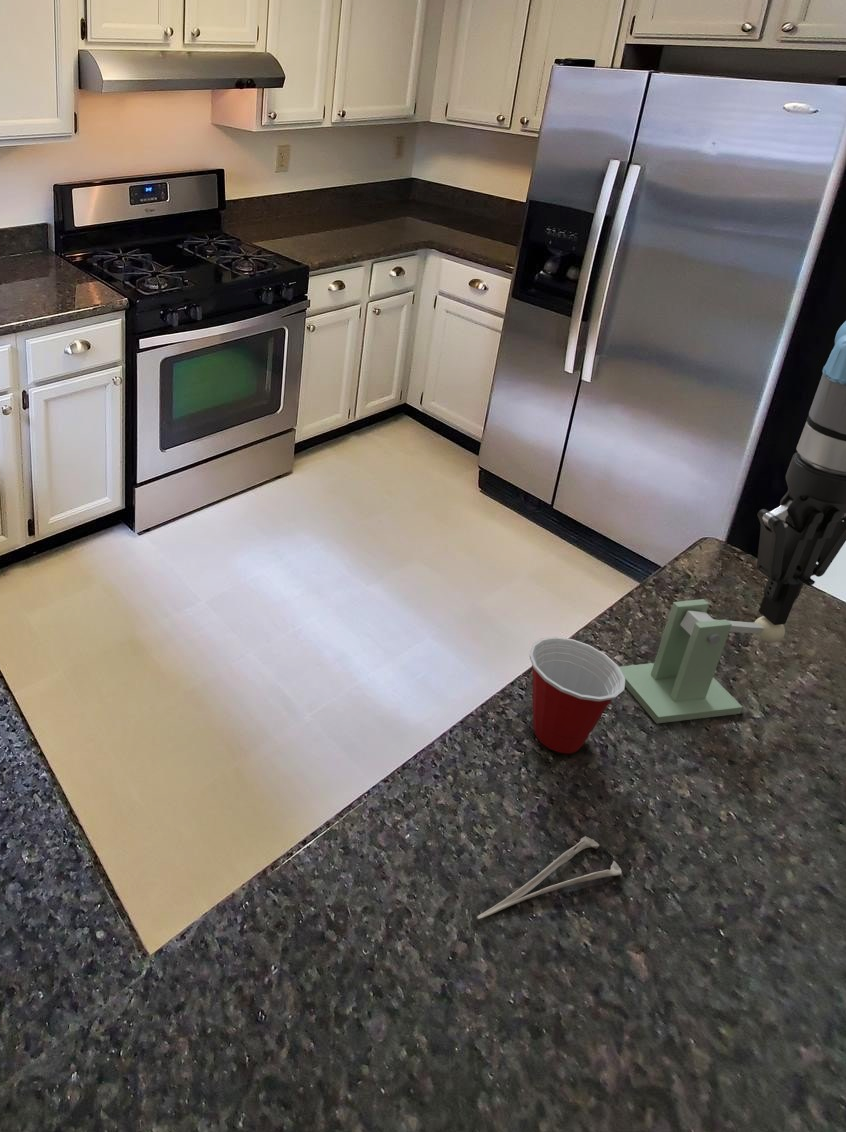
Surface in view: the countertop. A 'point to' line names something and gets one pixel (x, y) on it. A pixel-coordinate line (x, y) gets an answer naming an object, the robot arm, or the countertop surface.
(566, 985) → the countertop surface
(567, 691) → the plastic cup
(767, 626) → the lever
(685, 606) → the bracket
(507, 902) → the lower jaw bone
